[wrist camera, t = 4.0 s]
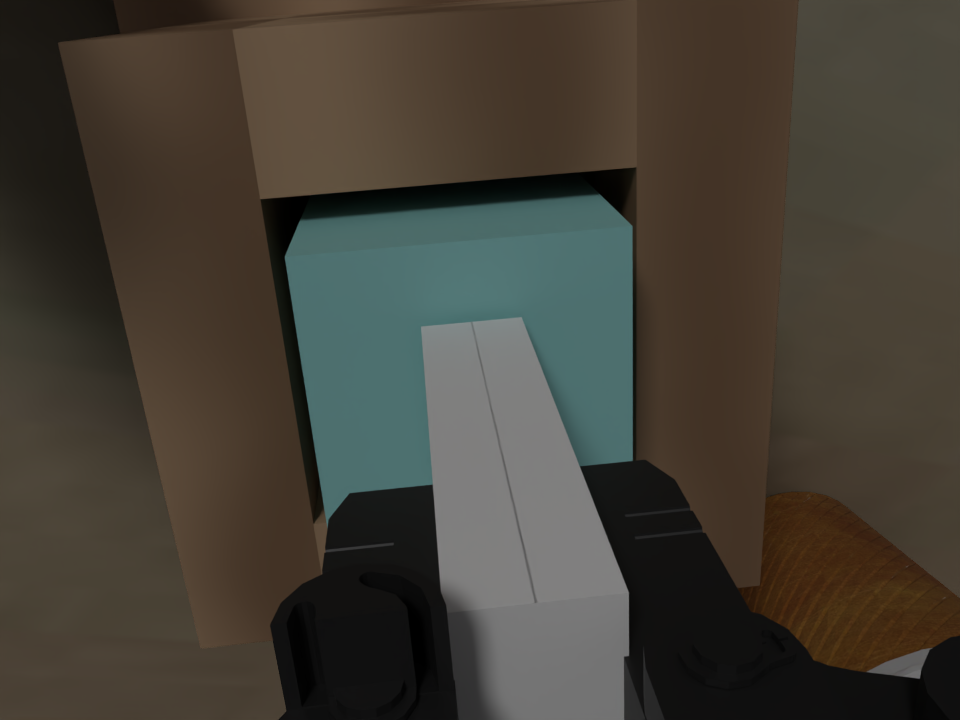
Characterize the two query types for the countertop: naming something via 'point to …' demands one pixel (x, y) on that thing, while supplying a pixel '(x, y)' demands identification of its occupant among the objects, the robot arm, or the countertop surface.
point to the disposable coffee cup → (848, 589)
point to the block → (456, 313)
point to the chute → (415, 162)
